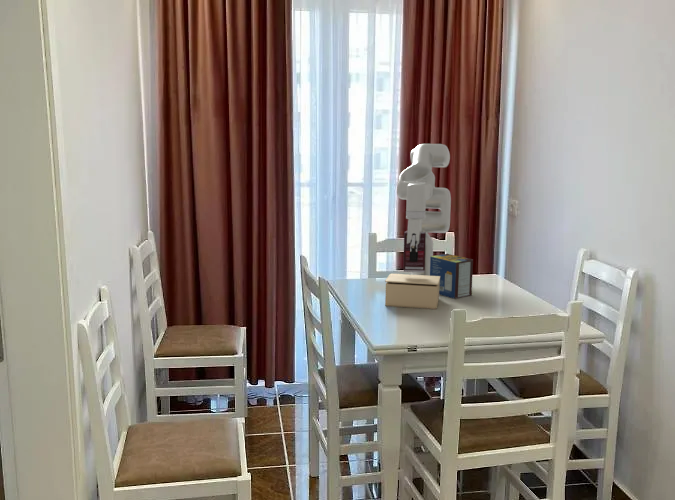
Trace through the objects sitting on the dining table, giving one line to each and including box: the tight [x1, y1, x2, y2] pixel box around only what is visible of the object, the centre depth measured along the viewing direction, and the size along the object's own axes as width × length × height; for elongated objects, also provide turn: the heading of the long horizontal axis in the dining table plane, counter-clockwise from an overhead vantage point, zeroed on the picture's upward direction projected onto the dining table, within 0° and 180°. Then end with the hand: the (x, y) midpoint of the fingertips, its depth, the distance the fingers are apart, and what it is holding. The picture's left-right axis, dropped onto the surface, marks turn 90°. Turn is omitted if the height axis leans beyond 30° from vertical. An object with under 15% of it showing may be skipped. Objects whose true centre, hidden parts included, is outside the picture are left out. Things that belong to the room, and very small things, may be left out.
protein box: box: [430, 253, 474, 299], centre depth 287 cm, size 10×15×16 cm
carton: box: [384, 280, 440, 310], centre depth 273 cm, size 16×20×9 cm
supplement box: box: [403, 230, 426, 273], centre depth 271 cm, size 9×5×16 cm, turn 84°
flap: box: [384, 273, 440, 285], centre depth 271 cm, size 16×20×1 cm
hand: (414, 259), depth 271 cm, fingers closed on supplement box, 5 cm apart
